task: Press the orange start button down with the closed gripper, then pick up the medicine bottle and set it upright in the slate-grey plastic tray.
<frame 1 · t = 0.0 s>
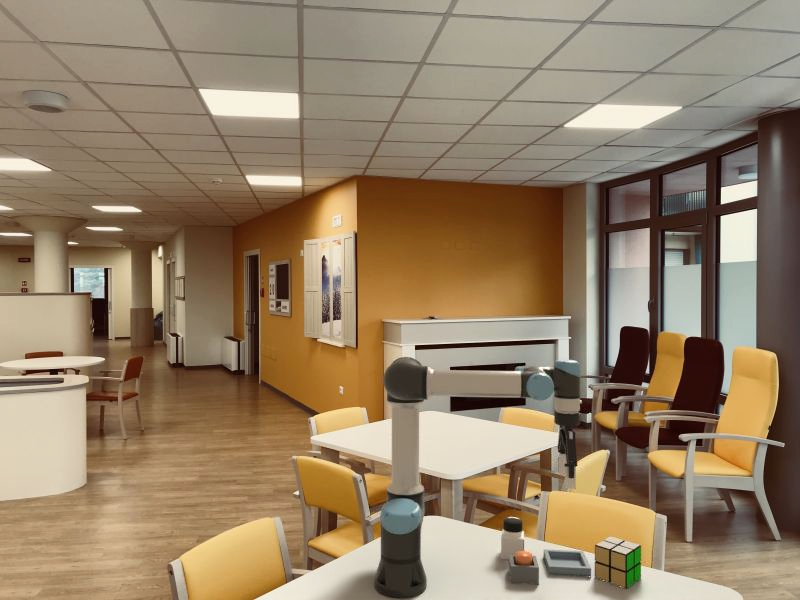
hand: (566, 481, 185), 28 cm above the table, tool pointing down, fingers open, 13 cm apart
start button: (523, 558, 182), point 6 cm above the table, slide at 0.0 cm
button housing: (523, 577, 182), on the table
tray: (566, 566, 190), on the table
medicine bottle: (512, 556, 198), on the table
puzzle cube: (617, 578, 183), on the table
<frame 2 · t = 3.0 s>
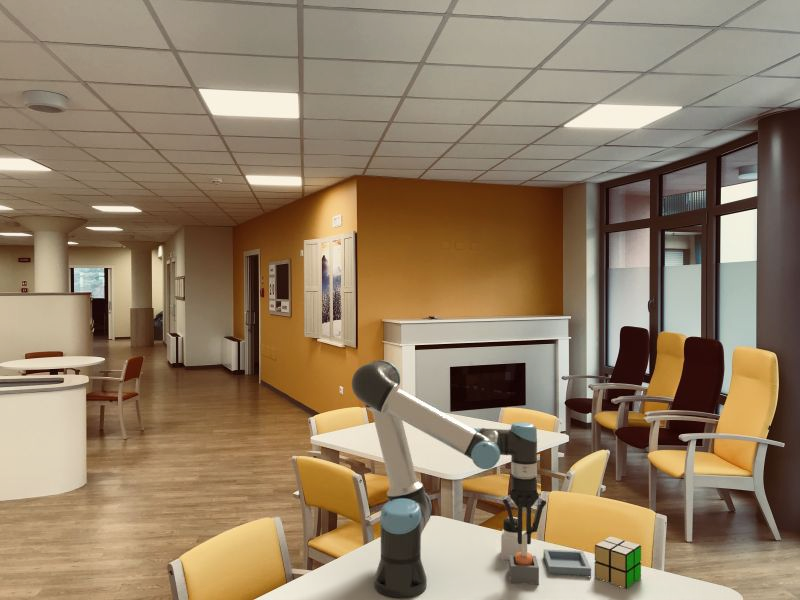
hand: (524, 554, 182), 7 cm above the table, tool pointing down, fingers closed
start button: (523, 559, 182), point 5 cm above the table, slide at 0.3 cm, touching gripper
everything else where it was.
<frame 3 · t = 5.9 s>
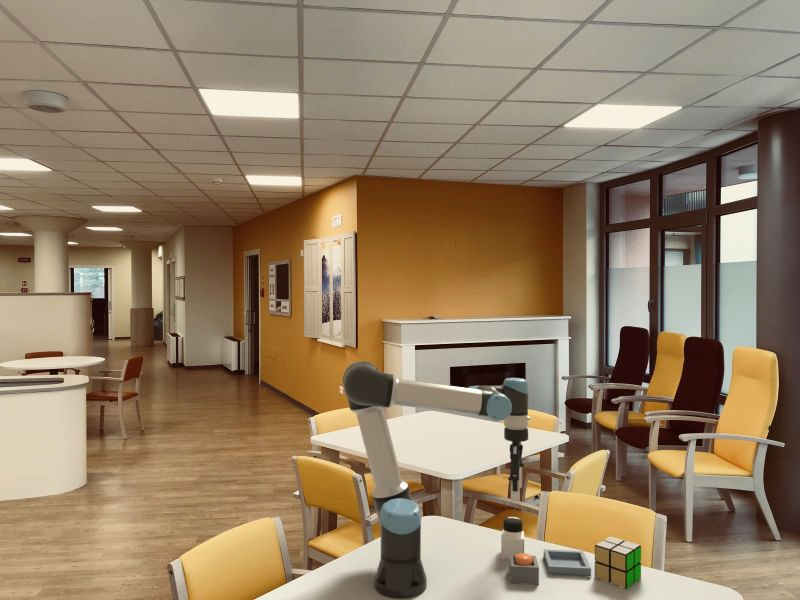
hand: (516, 493, 194), 21 cm above the table, tool pointing down, fingers open, 13 cm apart
start button: (523, 561, 182), point 5 cm above the table, slide at 0.8 cm
everything else where it was.
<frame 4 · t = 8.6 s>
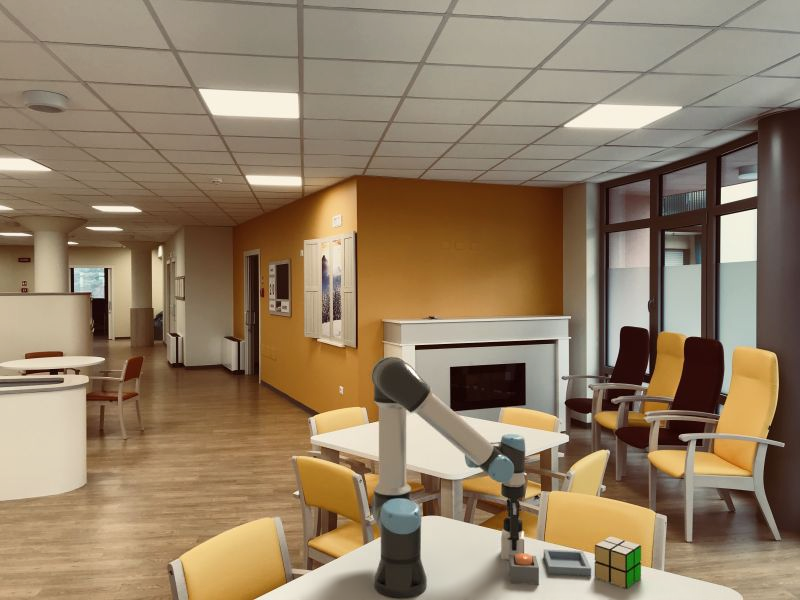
hand: (512, 553, 198), 1 cm above the table, tool pointing down, fingers closed on medicine bottle, 7 cm apart
medicine bottle: (512, 556, 198), on the table, touching gripper
everything else where it was.
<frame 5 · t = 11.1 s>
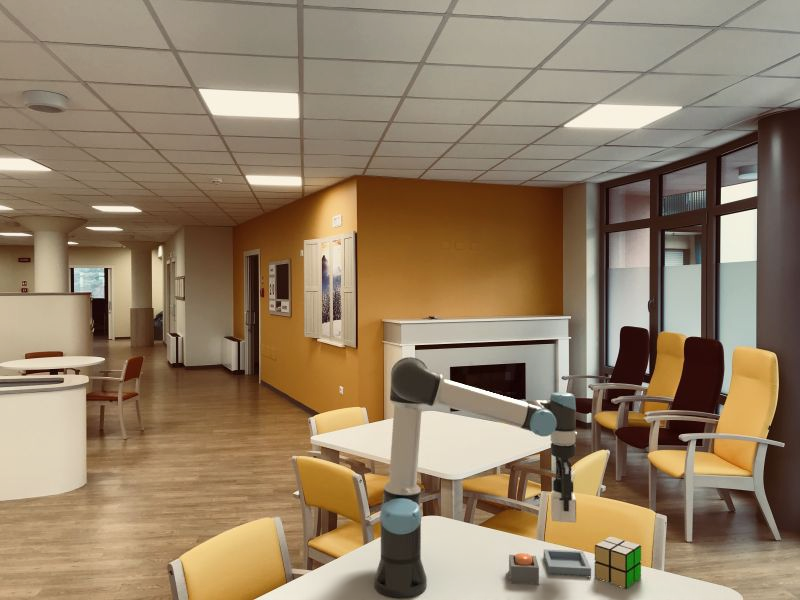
hand: (563, 515, 190), 16 cm above the table, tool pointing down, fingers closed on medicine bottle, 7 cm apart
medicine bottle: (563, 518, 190), point 15 cm above the table, touching gripper
everything else where it was.
when the fingers open (4 cm above the table, at t = 13.8 s): medicine bottle drops 2 cm, resting on tray.
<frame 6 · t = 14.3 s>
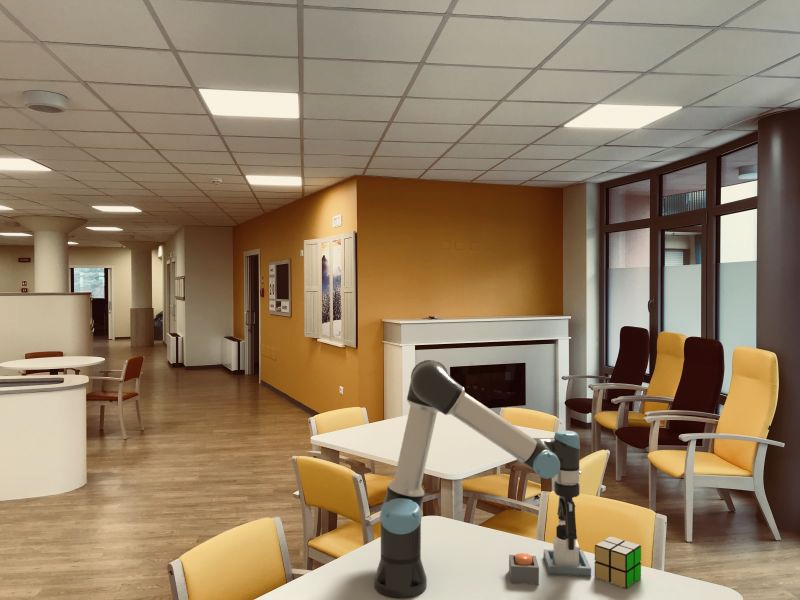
hand: (566, 549, 190), 5 cm above the table, tool pointing down, fingers open, 13 cm apart
medicine bottle: (566, 565, 190), resting on tray
everything else where it was.
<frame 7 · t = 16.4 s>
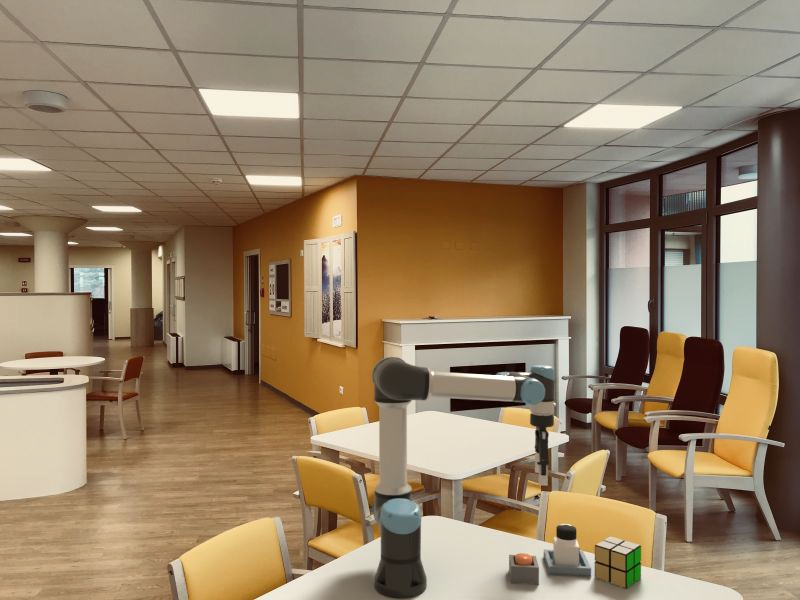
hand: (541, 478, 198), 25 cm above the table, tool pointing down, fingers open, 13 cm apart
nothing on the table moved.
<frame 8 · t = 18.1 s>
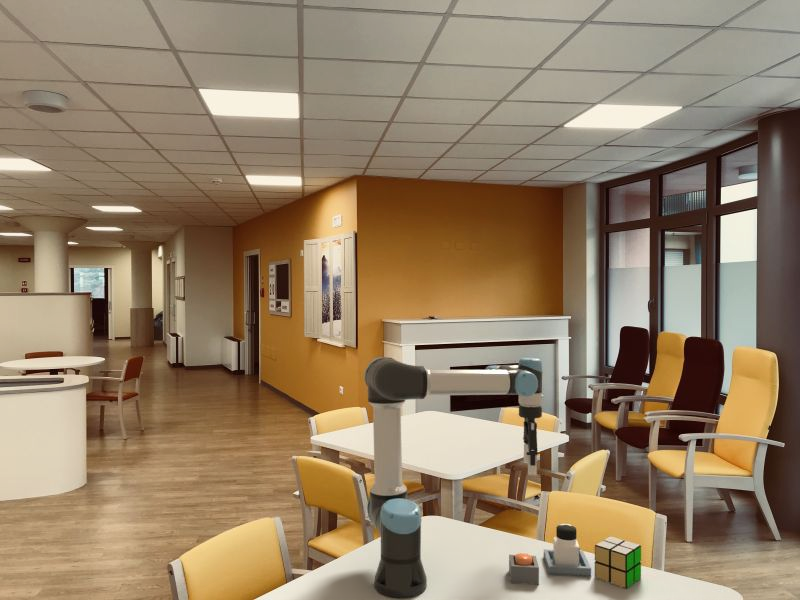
hand: (530, 468, 203), 27 cm above the table, tool pointing down, fingers open, 13 cm apart
nothing on the table moved.
at the end: start button slide at 0.8 cm; medicine bottle 0.3 cm off-centre on the tray, point 0.3 cm above the tray's base; medicine bottle tilted 0° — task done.
